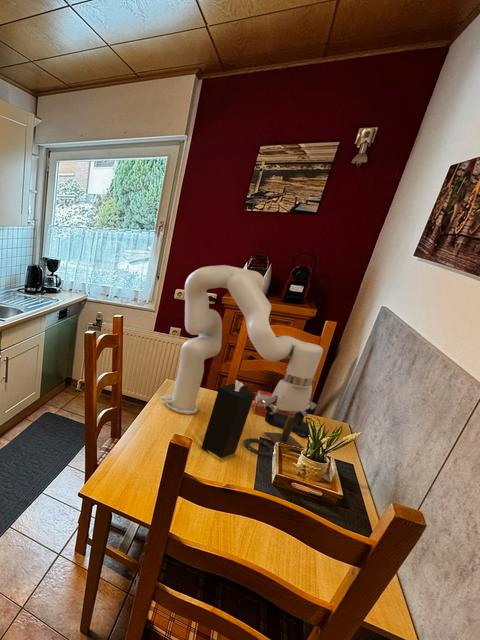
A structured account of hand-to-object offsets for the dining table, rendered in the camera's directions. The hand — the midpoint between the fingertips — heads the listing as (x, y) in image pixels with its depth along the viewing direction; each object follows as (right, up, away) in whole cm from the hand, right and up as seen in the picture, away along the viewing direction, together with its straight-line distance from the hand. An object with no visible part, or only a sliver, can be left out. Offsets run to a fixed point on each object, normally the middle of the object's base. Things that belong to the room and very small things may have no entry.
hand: (282, 423), depth 136 cm
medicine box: (+18, -1, +30) cm, 35 cm away
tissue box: (-21, -11, +3) cm, 24 cm away
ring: (-5, -10, +4) cm, 12 cm away
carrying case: (+17, -5, +20) cm, 27 cm away
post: (+7, -9, +10) cm, 15 cm away
